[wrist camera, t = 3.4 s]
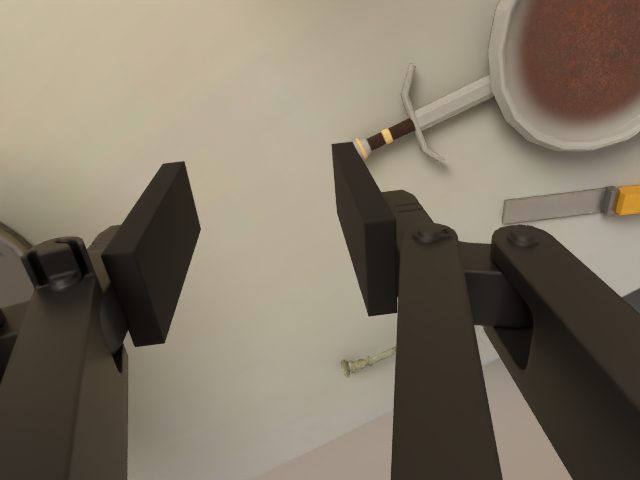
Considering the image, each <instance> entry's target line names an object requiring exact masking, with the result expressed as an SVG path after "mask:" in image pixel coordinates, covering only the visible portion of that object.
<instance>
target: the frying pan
mask: <svg viewBox="0 0 640 480" xmlns="http://www.w3.org/2000/svg"><path fill="white" fill-rule="evenodd" d="M488 59H489V69H490V75H487V76H485V77H483V78H481V79H479V80H477V81H475V82H473V83H471V84H469V85H467V86H465V87H463V88H461V89H459V90H457V91H455V92H453V93H451V94H449V95H446V96H444V97H442V98H440V99H438V100H436V101H434V102H432V103H430V104H428V105H426V106H424V107H422V108H420V109H418V110H416V111H414V110H413V107H412V104H411V101H410V98H409V96H408V94H409V90H410V86H411V82H412V79H413V75H414V71H415V67H416V66H415V65H414V64H412V63H411V64H410V65H409V66H408V70H407V74H406V78H405V82H404V85H403V89H402V93H401V98H402V101H403V104H404V106H405V109H406V112H407V114H408V117H409V119H407V120H405V121H403V122H401V123H399V124H397V125H395V126H393V127H391V128H387V129H384V130H382V131H381V132H380V133H378V134H376V135H374V136H372V137H370V138H368V139H363V138H361V139H358V138H357V139H356V141H355V142H354V143H353V144H354V146H355V147H356V149H357V151H358V153H359V154H360V156H361V158H362V159H363V158H364V159H367V157H368V156H369V155H370V153H371V151H372V150H374V149H377V148H379V147H381V146H383V145H385V144H390V143H391V142H393V140H395V139H397V138H399V137H401V136H403V135H406V134H408V133H410V132H412V131H414V133H415V136H416V139H417V141H418V144H419V147H420V149H421V150H422V151H423V152H424V153H426V154H427V155H429V156H431V157H432V158H434V159H435V160H437V161H438V162H440V163H441V164H443V165H448V164H447V161H446V160H445V159H443V158H442V157H440V156H439V155H437V154H436V153H434V152H433V151H431V150H430V149H428V148H427V146H426V143H425V140H424V137H423V134H422V132H421V131H423V130H425V129H427V128H429V127H431V126H434V125H436V124H438V123H440V122H442V121H444V120H446V119H448V118H450V117H452V116H454V115H456V114H459V113H461V112H463V111H465V110H467V109H469V108H471V107H473V106H475V105H477V104H479V103H481V102H483V101H486V100H488V99H490V98H492V97H495V99H496V101H497V103H498V105H499V107H500V110H501V112H502V114H503V116H504V118H505V120H506V121H507V122H508V123H509V124H510V125H511V126H512V127H513V128H514V129H515V130H517V131H518V132H519V133H520V134H521V135H522V136H523V137H524V138H525V139H526V140H527V141H529V142H532V143H535V144H538V145H540V146H543V147H546V148H548V149H551V150H554V151H591V150H594V149H598V148H601V147H604V146H608V145H611V144H615V143H618V142H621V141H625V140H628V139H629V138H631V137H633V136H634V135H636V134H638V133H639V132H640V0H500V2H499V4H498V6H497V8H496V10H495V14H494V20H493V25H492V30H491V36H490V41H489V46H488Z"/></svg>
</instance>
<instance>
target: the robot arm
mask: <svg viewBox="0 0 640 480" xmlns="http://www.w3.org/2000/svg"><path fill="white" fill-rule="evenodd" d="M332 155H333V168H334V181H335V193H336V206H337V214H338V217H339V221H340V224H341V227H342V230H343V234H344V237H345V240H346V244H347V247H348V250H349V253H350V257H351V260H352V263H353V267H354V270H355V273H356V276H357V280H358V283H359V286H360V290H361V293H362V296H363V299H364V303H365V306H366V309H367V313H368V316H376V315H384V314H391V313H397V297H398V319H397V343H396V367H395V391H394V416H393V440H392V463H391V480H503V479H502V473H501V468H500V463H499V457H498V452H497V447H496V441H495V436H494V431H493V425H492V420H491V414H490V410H489V404H488V398H487V393H486V387H485V382H484V377H483V371H482V366H481V360H480V355H479V350H478V344H477V339H476V333H475V328H474V325H483V327H484V331H485V333H486V334H487V336H488V338H489V340H490V341H491V343H492V345H493V346H494V348H495V350H496V351H497V353H498V355H499V356H500V358H501V360H502V361H503V363H504V365H505V366H506V368H507V369H508V371H509V373H510V375H511V376H512V378H513V380H514V382H515V383H516V385H517V387H518V388H519V390H520V392H521V393H522V395H523V397H524V398H525V400H526V402H527V403H528V405H529V407H530V408H531V410H532V412H533V413H534V415H535V416H536V418H537V420H538V422H539V424H540V425H541V427H542V429H543V430H544V432H545V434H546V435H547V437H548V439H549V440H550V442H551V443H552V445H553V447H554V449H555V450H556V452H557V454H558V456H559V457H560V459H561V461H562V462H563V464H564V466H565V467H566V469H567V471H568V472H569V474H570V476H571V477H572V479H573V480H640V314H639V313H638V312H637V311H636V310H635V309H634V308H633V307H632V306H630V305H629V304H628V303H627V302H626V301H625V300H624V299H623V298H621V297H620V296H619V295H618V294H617V293H616V292H615V291H614V290H612V289H611V288H610V287H609V286H608V285H607V284H606V283H605V282H604V281H602V280H601V279H600V278H599V277H598V276H597V275H596V274H595V273H593V272H592V271H591V270H590V269H589V268H588V267H587V266H586V265H584V264H583V263H582V262H581V261H580V260H579V259H578V258H577V257H575V256H574V255H573V254H572V253H571V252H570V251H569V250H568V249H566V248H565V247H564V246H563V245H562V244H561V243H560V242H559V241H557V240H556V239H555V238H554V237H553V236H552V235H550V234H549V233H547V232H546V231H544V230H541V229H538V228H535V227H533V226H529V225H527V226H525V225H512V226H506V227H501V228H499V229H498V230H496V231H494V233H493V235H492V242H491V244H481V243H467V242H461V241H458V236H457V234H456V232H455V231H454V230H453V229H451V228H450V227H448V226H445V225H441V224H436V223H434V222H433V221H432V219H431V218H430V217H429V215H428V214H427V213H426V211H425V210H424V209H423V207H422V206H421V204H419V202H418V200H417V199H416V197H415V196H414V195H412V194H410V193H408V192H406V191H404V190H396V191H388V192H381V191H380V190H379V188H378V186H377V184H376V183H375V181H374V179H373V177H372V176H371V174H370V172H369V170H368V168H367V167H366V165H365V163H364V161H363V160H362V158H361V156H360V154H359V153H358V151H357V149H356V147H355V146H354V144H353V142H347V143H338V144H332ZM200 230H201V228H200V224H199V220H198V215H197V211H196V207H195V203H194V199H193V195H192V191H191V187H190V183H189V179H188V174H187V170H186V166H185V162H184V161H183V162H174V163H165V164H162V166H161V167H160V169H159V170H158V172H157V173H156V175H155V176H154V178H153V179H152V181H151V182H150V184H149V185H148V186H147V188H146V189H145V191H144V192H143V194H142V195H141V197H140V198H139V200H138V201H137V203H136V204H135V206H134V207H133V209H132V210H131V211H130V213H129V214H128V216H127V217H126V219H125V220H124V222H123V223H122V225H116V226H110V227H109V228H107V229H106V230H105V231H103V232H102V233H100V234H99V235H98V236H97V237H96V238H95V240H94V241H93V242H92V245H90V246H89V248H88V249H86V247H85V244H84V241H83V239H81V238H79V237H61V238H56V239H52V240H49V241H45V242H43V243H40V244H38V245H36V246H34V247H31V246H30V245H29V244H28V243H27V242H26V241H25V240H24V239H22V238H21V237H20V236H19V235H17V234H16V233H15V232H14V231H12V230H11V229H9V228H8V227H6V226H5V225H3V224H1V223H0V480H127V446H128V355H127V352H126V349H125V347H124V344H123V341H124V338H125V336H126V334H127V332H128V330H129V333H130V336H131V338H132V341H133V344H134V346H135V347H140V346H147V345H155V344H163V343H165V340H166V337H167V334H168V331H169V328H170V325H171V322H172V318H173V315H174V312H175V309H176V306H177V303H178V300H179V296H180V293H181V290H182V287H183V284H184V281H185V277H186V274H187V271H188V268H189V265H190V262H191V259H192V255H193V252H194V249H195V246H196V243H197V240H198V237H199V233H200Z"/></svg>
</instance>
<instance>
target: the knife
mask: <svg viewBox="0 0 640 480" xmlns="http://www.w3.org/2000/svg"><path fill="white" fill-rule="evenodd" d="M596 212H601V213H603V214H604V215H606V216H609V215H614V214H615V213H617V214H618V215H620V216H622V215H630V214H638V213H640V185H635V186H627V187H618V188H616V187H614V186H611V187H605V188H601V189H593V190H584V191H576V192H568V193H560V194H552V195H544V196H535V197H527V198H519V199H511V200H504V208H503V217H502V223H503V224H508V223H516V222H524V221H532V220H540V219H548V218H556V217H564V216H572V215H580V214H588V213H596Z"/></svg>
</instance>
